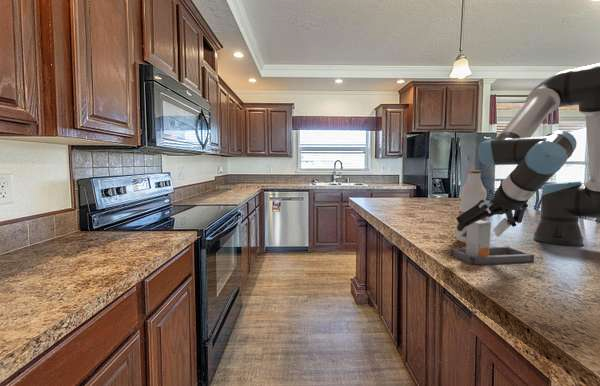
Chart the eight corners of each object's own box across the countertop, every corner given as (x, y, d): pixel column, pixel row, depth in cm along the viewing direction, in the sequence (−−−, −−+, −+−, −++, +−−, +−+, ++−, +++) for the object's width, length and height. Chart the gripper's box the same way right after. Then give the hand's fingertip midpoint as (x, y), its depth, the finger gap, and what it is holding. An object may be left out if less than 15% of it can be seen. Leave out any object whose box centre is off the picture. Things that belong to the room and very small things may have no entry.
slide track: (506, 251, 112) (507, 245, 112) (533, 261, 101) (534, 254, 101) (450, 254, 109) (450, 247, 109) (471, 264, 99) (472, 257, 98)
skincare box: (477, 261, 101) (478, 223, 100) (465, 257, 105) (466, 221, 104) (489, 258, 104) (491, 221, 103) (477, 255, 108) (478, 219, 107)
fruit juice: (490, 243, 123) (494, 170, 121) (468, 245, 122) (471, 170, 119) (473, 238, 132) (476, 170, 130) (452, 239, 131) (455, 170, 128)
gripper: (478, 203, 84) (444, 245, 100) (564, 201, 87) (517, 242, 103) (466, 182, 88) (435, 225, 105) (548, 180, 91) (505, 223, 108)
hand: (476, 234), depth 104 cm, fingers open, 13 cm apart
